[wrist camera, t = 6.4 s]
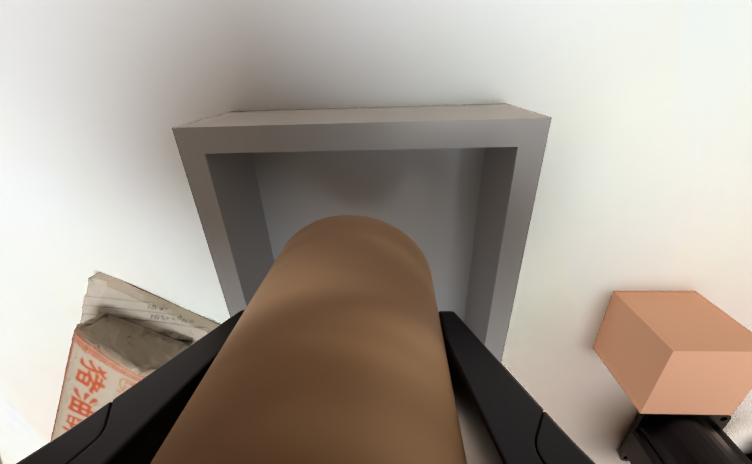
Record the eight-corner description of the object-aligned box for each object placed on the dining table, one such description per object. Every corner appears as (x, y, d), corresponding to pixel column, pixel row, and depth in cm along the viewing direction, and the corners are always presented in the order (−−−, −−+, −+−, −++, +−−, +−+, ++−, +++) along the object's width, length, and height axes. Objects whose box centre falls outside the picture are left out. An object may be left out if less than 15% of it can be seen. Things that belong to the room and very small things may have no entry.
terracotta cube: (694, 290, 20) (778, 351, 16) (665, 347, 23) (731, 415, 18) (612, 290, 21) (673, 351, 16) (591, 346, 23) (640, 413, 19)
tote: (506, 103, 16) (551, 117, 11) (469, 361, 24) (487, 427, 20) (230, 111, 17) (171, 128, 12) (286, 358, 25) (263, 422, 20)
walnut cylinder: (435, 213, 9) (532, 535, 3) (429, 344, 11) (474, 686, 5) (261, 216, 9) (-5, 512, 3) (289, 343, 12) (166, 665, 5)
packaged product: (142, 501, 27) (16, 461, 25) (177, 441, 31) (71, 404, 30) (205, 382, 20) (32, 313, 18) (239, 325, 24) (103, 265, 22)
